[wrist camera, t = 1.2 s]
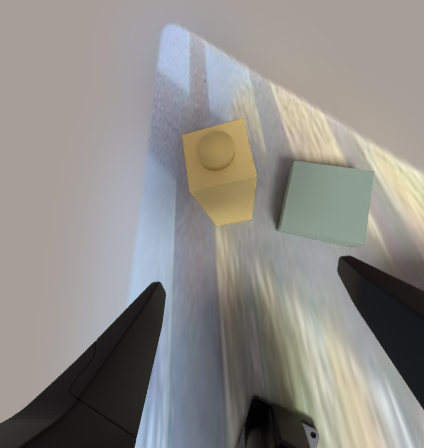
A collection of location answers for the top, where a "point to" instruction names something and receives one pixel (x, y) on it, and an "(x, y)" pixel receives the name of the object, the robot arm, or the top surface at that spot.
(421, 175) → the top surface
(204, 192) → the tower brick
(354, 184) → the plinth brick
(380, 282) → the robot arm
